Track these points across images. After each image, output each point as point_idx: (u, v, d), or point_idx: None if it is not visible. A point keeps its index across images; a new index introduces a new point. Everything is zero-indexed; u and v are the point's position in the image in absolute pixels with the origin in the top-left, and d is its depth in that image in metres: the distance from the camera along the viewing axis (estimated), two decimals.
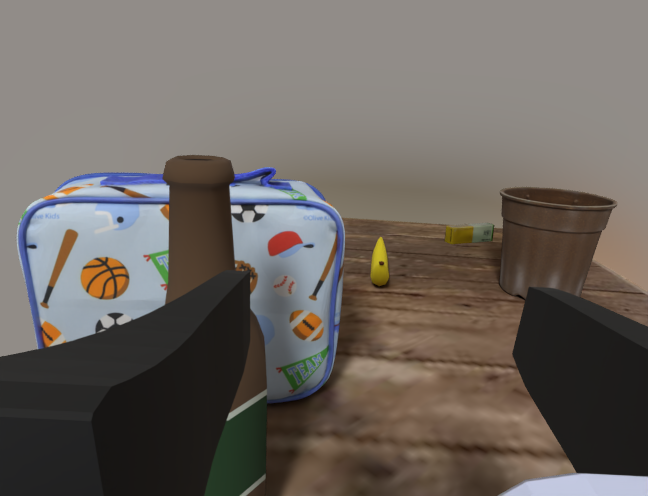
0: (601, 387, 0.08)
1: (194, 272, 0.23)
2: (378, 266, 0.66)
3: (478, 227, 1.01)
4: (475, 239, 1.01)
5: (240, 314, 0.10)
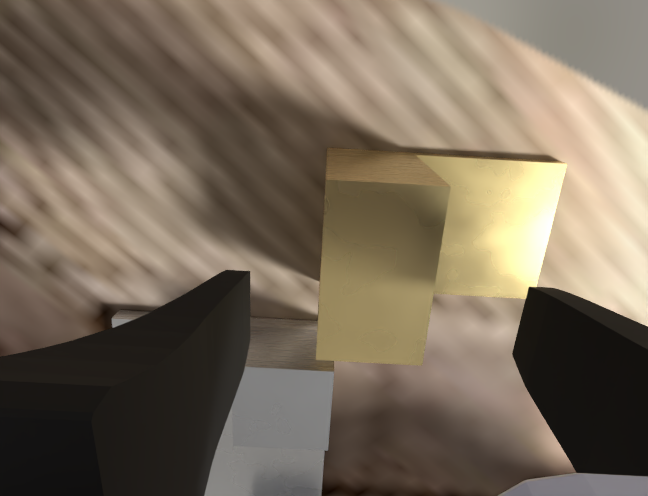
0: (601, 387, 0.08)
1: None
2: None
3: None
4: None
5: (240, 314, 0.10)
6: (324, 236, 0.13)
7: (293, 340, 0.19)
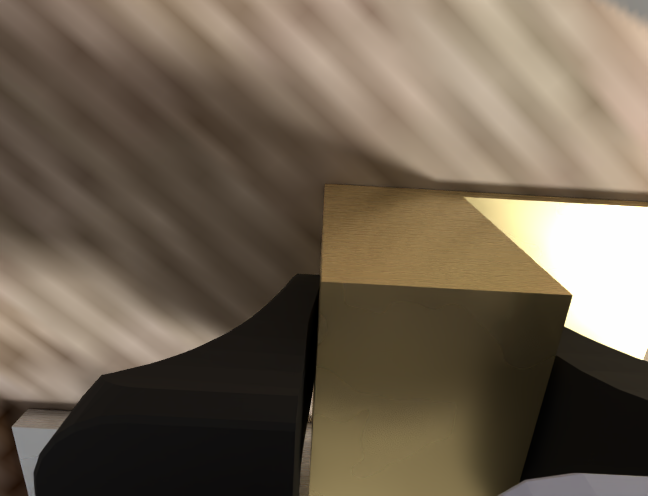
0: None
1: None
2: None
3: None
4: None
5: (317, 318, 0.10)
6: (318, 382, 0.07)
7: None
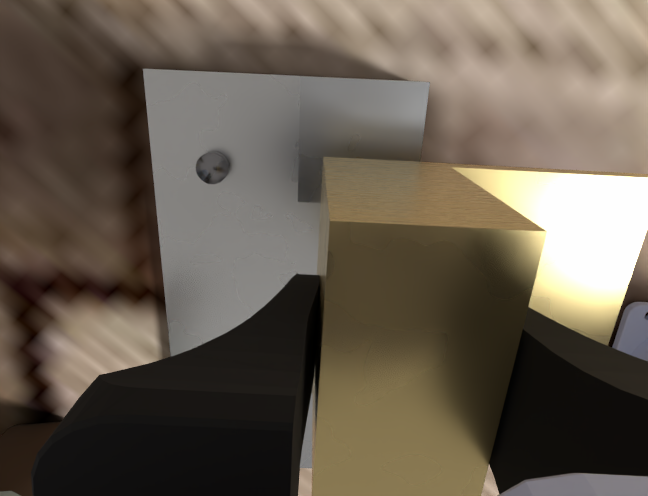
0: (510, 382, 0.08)
1: None
2: None
3: None
4: None
5: (316, 318, 0.10)
6: (326, 314, 0.08)
7: None
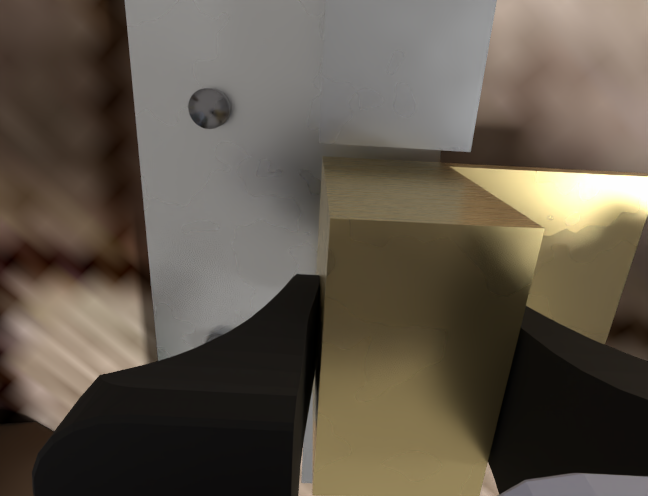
0: (509, 383, 0.08)
1: None
2: None
3: None
4: None
5: (317, 318, 0.10)
6: (326, 312, 0.08)
7: None
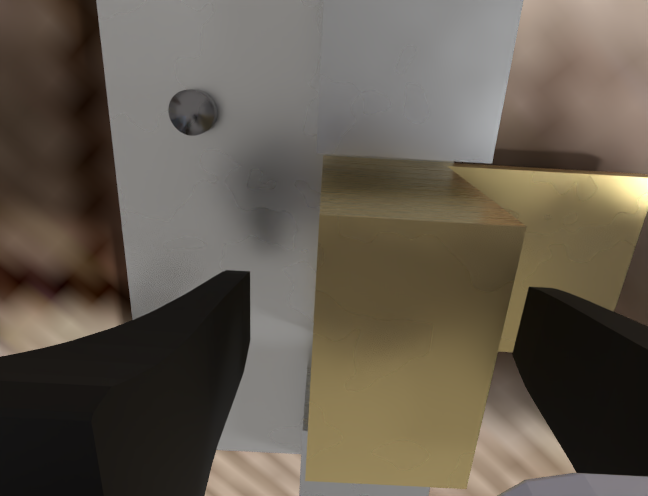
0: (601, 387, 0.08)
1: None
2: None
3: None
4: None
5: (240, 314, 0.10)
6: (316, 304, 0.08)
7: None
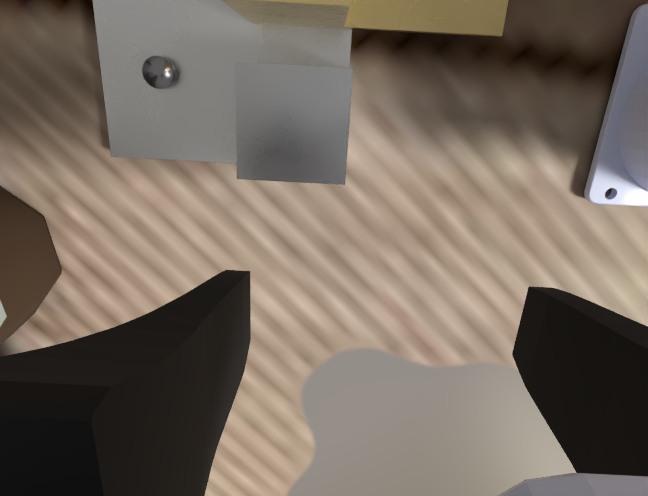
0: (601, 387, 0.08)
1: None
2: None
3: None
4: None
5: (240, 314, 0.10)
6: None
7: None
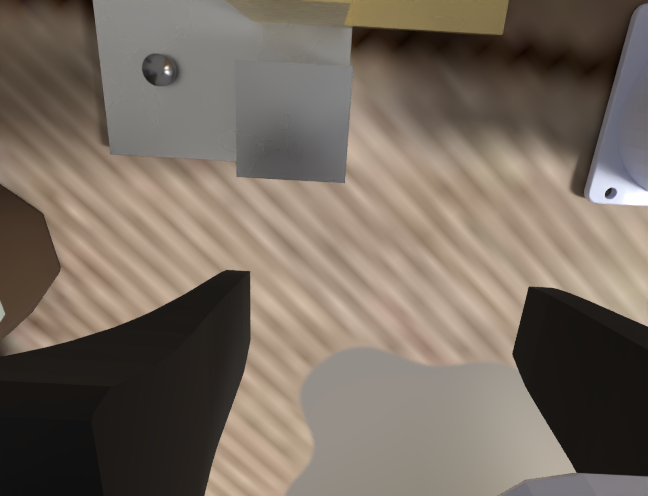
0: (601, 387, 0.08)
1: None
2: None
3: None
4: None
5: (240, 314, 0.10)
6: None
7: None
